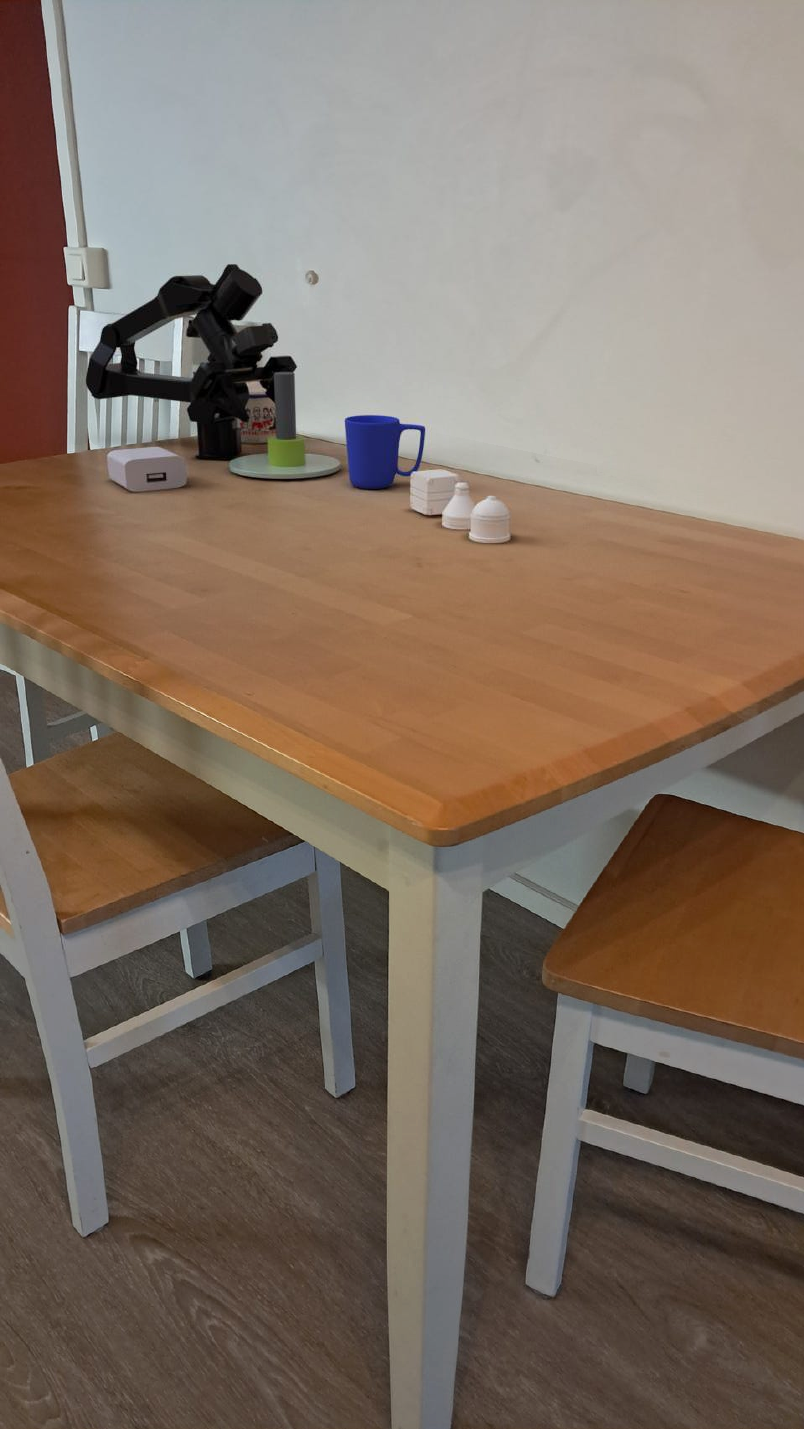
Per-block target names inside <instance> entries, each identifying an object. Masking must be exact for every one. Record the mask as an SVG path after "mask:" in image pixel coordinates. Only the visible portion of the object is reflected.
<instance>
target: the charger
mask: <svg viewBox="0 0 804 1429" xmlns="http://www.w3.org/2000/svg"><path fill="white" fill-rule="evenodd" d="M106 460H107V470H108V477H109V479H110V480H112V481H113V482H115V483H117V484H118V485H120V486H121V487H123V488H125V489H126V490H128V491H130V492H133V493H141V492H149V491H159V490H160V491H161V490H171V489H177V488H178V489H179V488H181V487H184V486H185V485H186V484H187V481H188V480H187V466H186V459H185V458H184V457H183V456H180V455H178V454H176V453H174V452H172V451H170V450H168V449H166V448H163V447H161V446H147V447H136V448H125V449H123V448H121V449H114V450H111V451H109V452H108V453H107V456H106Z"/></svg>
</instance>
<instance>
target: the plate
mask: <svg viewBox="0 0 804 1429" xmlns="http://www.w3.org/2000/svg"><path fill="white" fill-rule="evenodd" d="M305 460H306V463H305V464H304V465H301V466H293V467H280V466H273V465H270V464H269V463H268V452H267V453H266V452H265V453H257V454H250V455H248V454H247V455H244V456H240V457H239V456H238V457H235V458H233V459H230V461H229V462H228V469H229V471H230V472H231V473H234V474H237V475H240V476H245V477H250V478H256V479H257V478H258V479H271V480H272V479H273V480H274V479H276V480H278V479H279V480H289V479H290V480H291V479H292V480H293V479H294V480H295V479H307V478H309V479H310V478H317V477H322V476H328V475H331V474H334V473H336V472H338V471H339V470H340V469H341V462H340V460H339V459H337V458H335V457H332V456H329V455H323V454H315V453H306V452H305Z"/></svg>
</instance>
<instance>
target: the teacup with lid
mask: <svg viewBox="0 0 804 1429" xmlns="http://www.w3.org/2000/svg"><path fill="white" fill-rule="evenodd" d="M246 384H247V386H248V390H249V400H248V402H247V404H246V407H245V409H246V411H247V414H248V416H249V421H248V422H247V423H244V422H243V421H241V420H240V419H238V418H235V419H237V426H238V428H240V429H241V444H249V445H258V444H259V445H262V444H268V437H271V436H276V416H275V403H274V402H273V401H272V400H271V399H270V398H269V397H268V396H267V395H266V394H265V392H266V389H264V388H263V387H262V386H261V384H260V383H259V381H254V382H246Z"/></svg>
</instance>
